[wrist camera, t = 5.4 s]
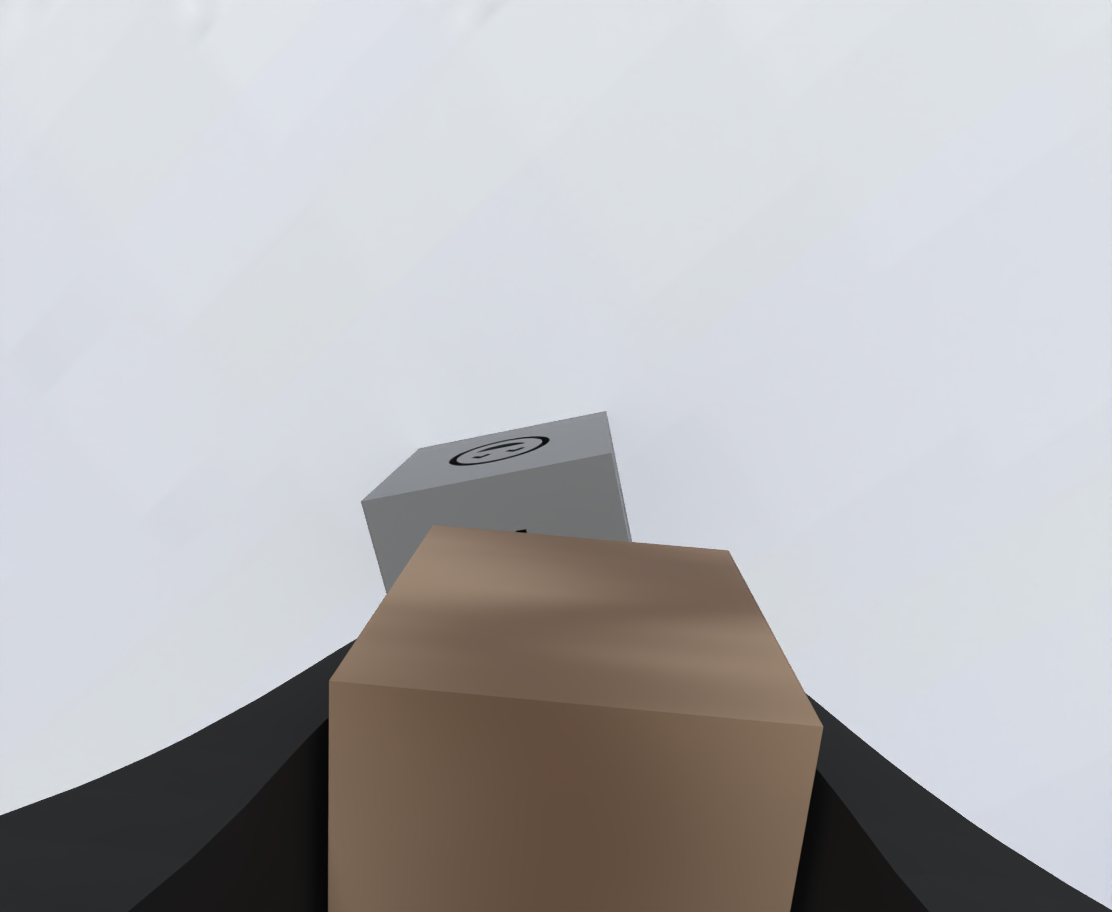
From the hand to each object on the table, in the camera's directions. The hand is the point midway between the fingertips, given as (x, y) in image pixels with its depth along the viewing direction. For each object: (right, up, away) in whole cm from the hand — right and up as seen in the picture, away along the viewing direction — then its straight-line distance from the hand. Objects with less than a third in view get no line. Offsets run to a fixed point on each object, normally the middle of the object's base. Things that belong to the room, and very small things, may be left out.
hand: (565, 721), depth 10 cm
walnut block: (0, 0, +1) cm, 1 cm away
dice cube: (-1, +2, +10) cm, 10 cm away
